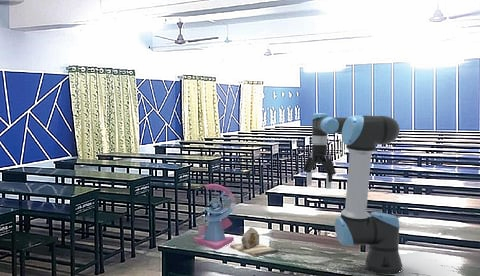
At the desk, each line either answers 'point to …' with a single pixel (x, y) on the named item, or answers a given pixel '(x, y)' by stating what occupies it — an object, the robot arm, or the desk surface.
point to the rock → (250, 238)
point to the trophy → (216, 221)
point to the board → (254, 249)
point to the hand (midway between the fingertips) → (318, 186)
